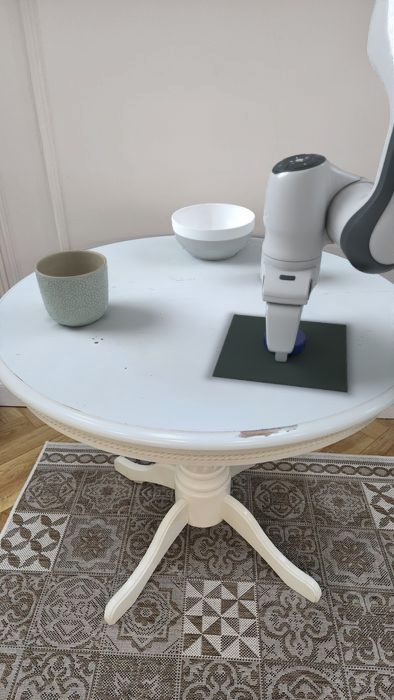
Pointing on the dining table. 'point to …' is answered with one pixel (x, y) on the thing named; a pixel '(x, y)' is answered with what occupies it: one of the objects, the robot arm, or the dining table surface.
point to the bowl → (213, 229)
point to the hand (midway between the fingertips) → (283, 346)
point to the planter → (74, 286)
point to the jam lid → (298, 343)
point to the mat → (299, 369)
